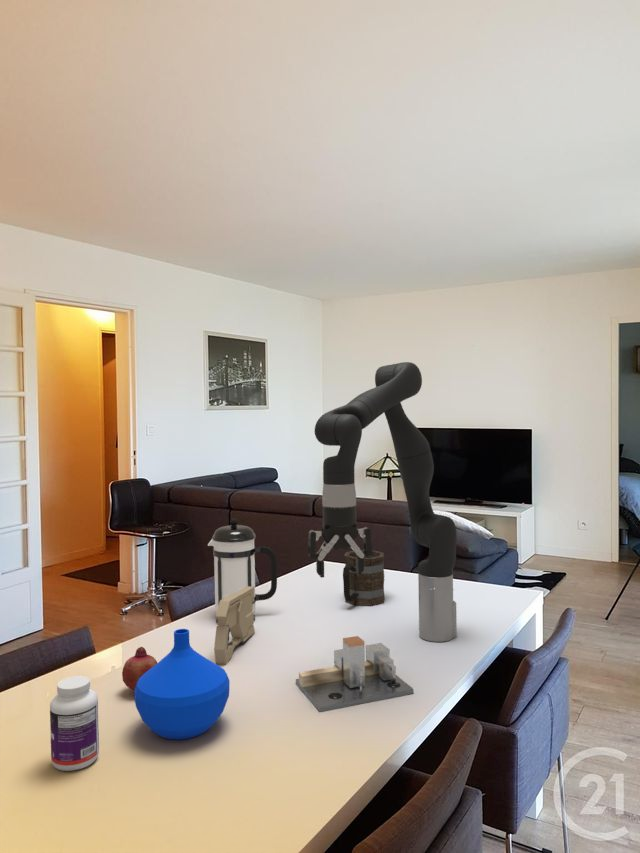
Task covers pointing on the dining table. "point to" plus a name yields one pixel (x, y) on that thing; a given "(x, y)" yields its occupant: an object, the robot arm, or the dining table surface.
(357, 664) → the slide leg
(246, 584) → the coffee press
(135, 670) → the fruit
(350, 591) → the mug
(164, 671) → the vase
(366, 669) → the divider rail
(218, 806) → the dining table surface
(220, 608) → the gun
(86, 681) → the pill bottle
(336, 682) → the bolt plate
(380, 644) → the fixed leg
